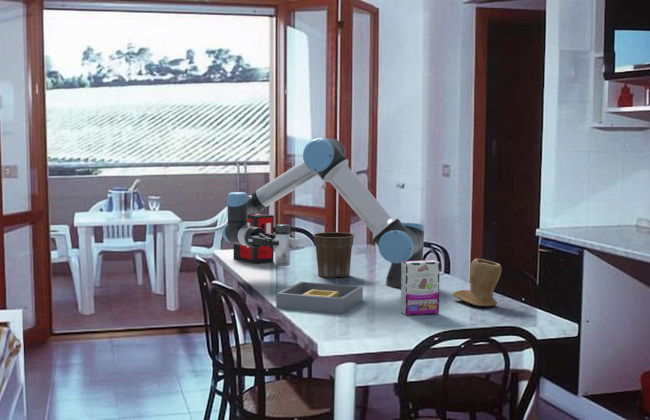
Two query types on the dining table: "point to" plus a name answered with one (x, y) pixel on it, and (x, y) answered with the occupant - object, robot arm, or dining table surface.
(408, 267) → the candy bar box
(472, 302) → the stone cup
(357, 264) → the dining table surface
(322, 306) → the walled tray
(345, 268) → the plant pot
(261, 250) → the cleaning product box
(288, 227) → the two-tone metal cylinder
